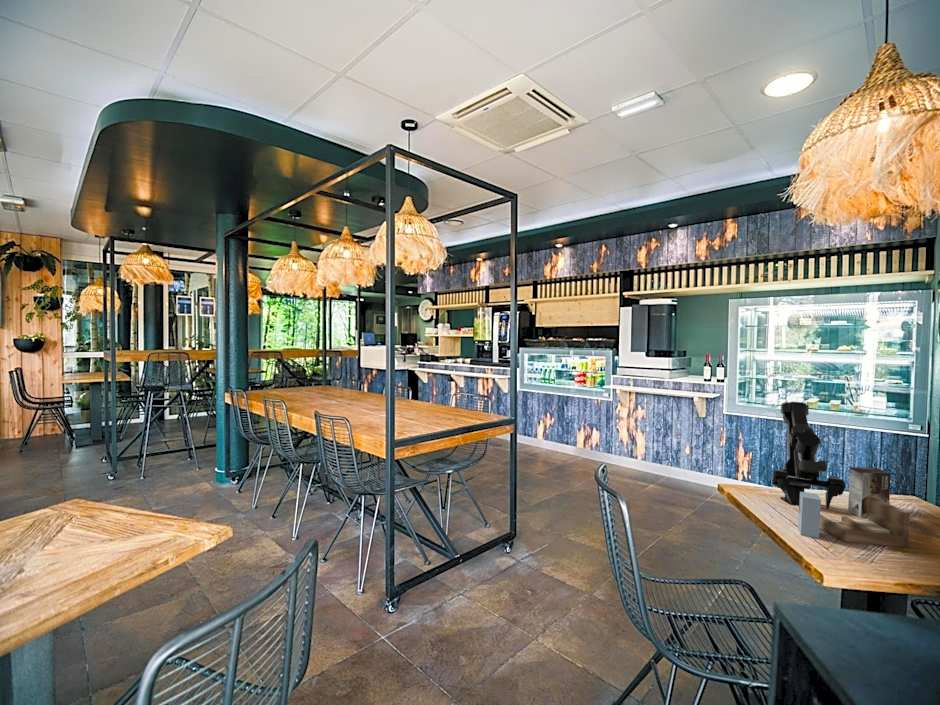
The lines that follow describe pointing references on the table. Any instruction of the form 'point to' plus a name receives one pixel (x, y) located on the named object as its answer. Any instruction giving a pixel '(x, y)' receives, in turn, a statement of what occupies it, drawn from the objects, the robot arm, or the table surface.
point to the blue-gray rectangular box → (809, 514)
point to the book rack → (873, 526)
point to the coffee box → (867, 489)
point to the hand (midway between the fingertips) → (809, 505)
